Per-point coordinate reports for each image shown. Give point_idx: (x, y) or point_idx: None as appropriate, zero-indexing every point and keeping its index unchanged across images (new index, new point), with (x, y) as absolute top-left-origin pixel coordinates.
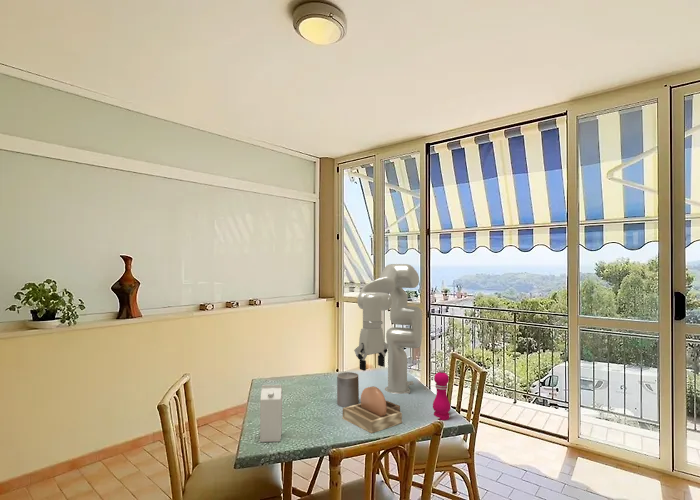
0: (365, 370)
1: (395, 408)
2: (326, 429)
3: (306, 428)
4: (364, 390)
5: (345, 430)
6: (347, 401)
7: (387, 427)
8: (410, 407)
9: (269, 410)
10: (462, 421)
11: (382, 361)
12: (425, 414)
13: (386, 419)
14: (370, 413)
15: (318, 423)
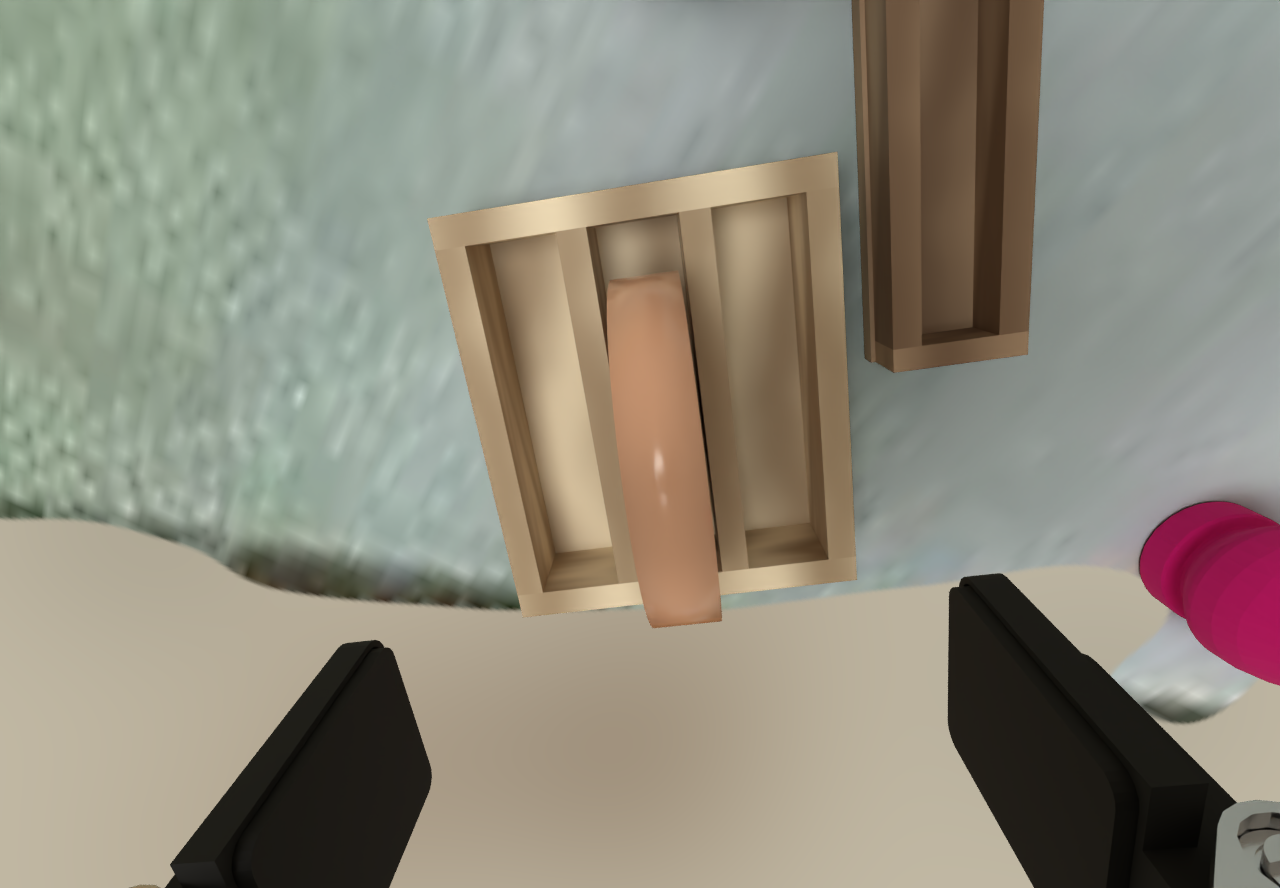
0: (423, 774)
1: (958, 360)
2: (282, 319)
3: (130, 220)
4: (612, 373)
5: (412, 405)
6: None
7: None
8: (1201, 249)
9: None
10: None
11: (1009, 838)
12: (1156, 449)
13: None
14: (608, 470)
15: (249, 170)
